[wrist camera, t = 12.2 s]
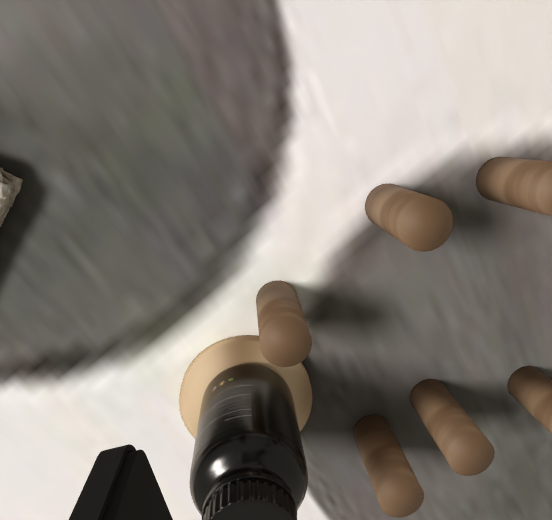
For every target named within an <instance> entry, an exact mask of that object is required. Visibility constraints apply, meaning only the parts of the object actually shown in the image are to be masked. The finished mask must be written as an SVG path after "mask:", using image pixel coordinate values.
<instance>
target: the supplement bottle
mask: <svg viewBox="0 0 552 520" xmlns="http://www.w3.org/2000/svg"><path fill="white" fill-rule="evenodd" d="M307 485H308V473H307V466H306V460H305V455H304V450H303V445H302V440H301V435H300V430H299V425H298V420H297V415H296V410H295V405H294V401H293V397H292V393H291V390H290V388H289V386H288V384H287V383H286V381H285V380H284V379H283V378H282V377H281V376H280V375H279V374H278V373H276V372H275V371H273V370H272V369H270V368H268V367H265V366H262V365H257V364H240V365H236V366H232V367H230V368H227V369H225V370H224V371H222V372H220V373H219V374H218V375H217V376H215V377H214V378H213V380H212V381H211V382H210V383H209V385H208V386H207V388H206V390H205V392H204V395H203V398H202V403H201V408H200V415H199V421H198V427H197V434H196V440H195V447H194V453H193V459H192V466H191V473H190V492H191V496H192V499H193V502H194V504H195V506H196V508H197V510H198V511H199V513H200V514H201V516H202V520H297V510H298V509H299V507H300V505H301V503H302V501H303V499H304V497H305V494H306V490H307Z"/></svg>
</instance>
